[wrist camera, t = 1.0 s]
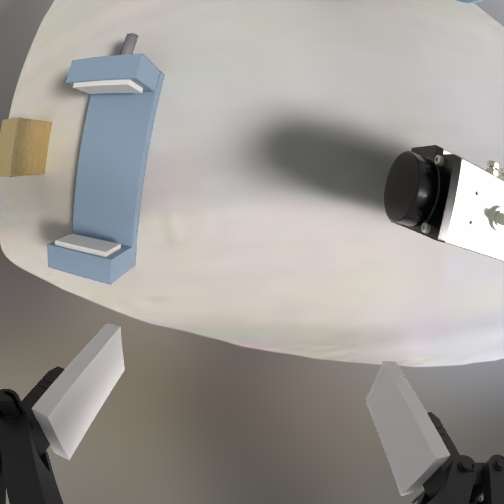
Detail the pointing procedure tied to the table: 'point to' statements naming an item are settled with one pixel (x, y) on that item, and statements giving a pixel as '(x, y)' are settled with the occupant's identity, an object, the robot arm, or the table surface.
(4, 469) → the robot arm
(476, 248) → the white pneumatic actuator
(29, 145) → the wooden block
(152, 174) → the table surface
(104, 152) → the vise
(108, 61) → the free jaw
